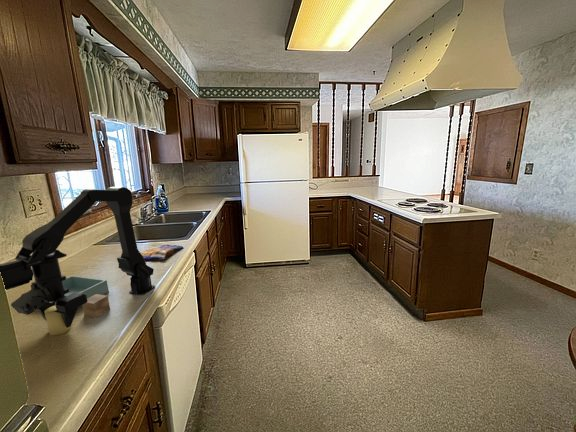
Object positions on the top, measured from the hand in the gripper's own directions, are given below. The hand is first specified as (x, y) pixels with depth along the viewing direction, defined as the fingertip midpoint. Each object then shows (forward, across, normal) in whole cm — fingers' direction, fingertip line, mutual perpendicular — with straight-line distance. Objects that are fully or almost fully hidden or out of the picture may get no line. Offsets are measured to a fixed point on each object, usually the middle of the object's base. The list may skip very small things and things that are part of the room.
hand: (59, 325), depth 80 cm
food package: (+3, -17, +62) cm, 64 cm away
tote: (+2, -15, +15) cm, 21 cm away
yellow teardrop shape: (+2, 0, 0) cm, 2 cm away
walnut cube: (+2, +2, +10) cm, 10 cm away
